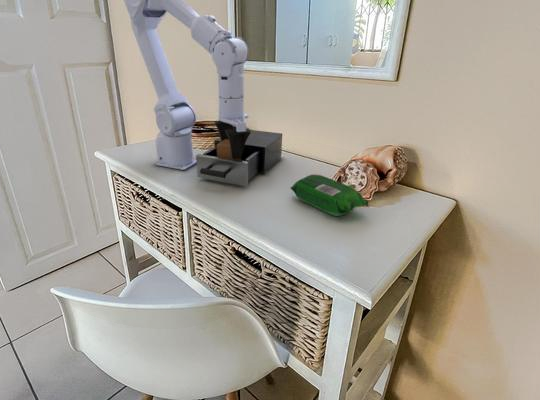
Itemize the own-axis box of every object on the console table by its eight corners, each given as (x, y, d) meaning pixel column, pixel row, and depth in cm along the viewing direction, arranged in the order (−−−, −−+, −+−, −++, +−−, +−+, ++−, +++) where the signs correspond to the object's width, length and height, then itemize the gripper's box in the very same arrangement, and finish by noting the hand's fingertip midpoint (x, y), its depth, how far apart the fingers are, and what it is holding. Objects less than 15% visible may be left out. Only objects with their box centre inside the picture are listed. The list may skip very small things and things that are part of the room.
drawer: (238, 193, 74) (238, 169, 71) (188, 183, 79) (186, 160, 76) (265, 168, 87) (266, 147, 84) (220, 161, 92) (220, 141, 89)
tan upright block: (217, 171, 82) (216, 144, 79) (225, 165, 86) (225, 138, 83) (233, 174, 81) (233, 146, 78) (241, 167, 85) (241, 140, 82)
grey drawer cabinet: (264, 174, 85) (265, 147, 82) (215, 166, 91) (214, 140, 87) (281, 158, 96) (282, 133, 92) (236, 151, 102) (235, 128, 98)
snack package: (345, 227, 62) (349, 202, 60) (287, 196, 74) (288, 175, 71) (368, 216, 66) (373, 192, 64) (309, 189, 77) (311, 168, 75)
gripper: (259, 100, 71) (258, 161, 77) (237, 90, 83) (237, 143, 89) (228, 103, 69) (229, 164, 75) (210, 92, 81) (212, 146, 87)
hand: (231, 153), depth 82 cm, fingers open, 7 cm apart
